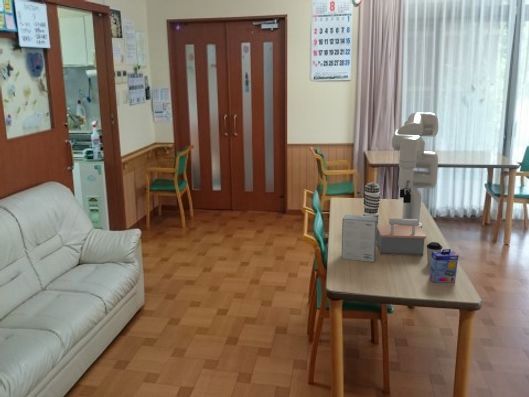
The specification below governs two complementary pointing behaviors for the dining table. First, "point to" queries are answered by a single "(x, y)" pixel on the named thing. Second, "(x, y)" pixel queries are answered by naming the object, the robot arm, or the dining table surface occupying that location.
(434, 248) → the coffee cup
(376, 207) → the decorative candle
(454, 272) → the ink cartridge box
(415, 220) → the flap
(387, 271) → the dining table surface
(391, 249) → the box
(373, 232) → the hard drive box
